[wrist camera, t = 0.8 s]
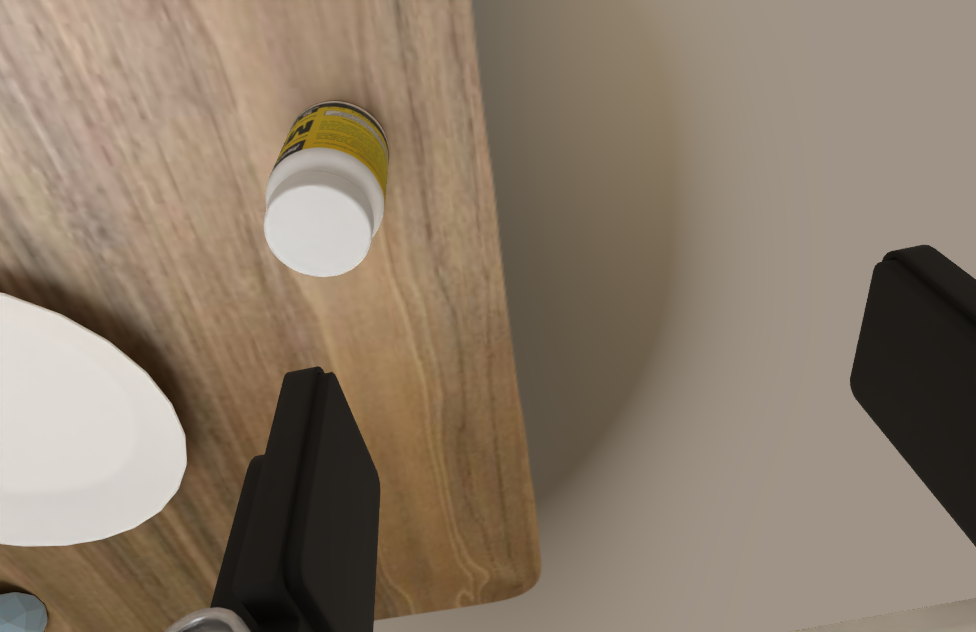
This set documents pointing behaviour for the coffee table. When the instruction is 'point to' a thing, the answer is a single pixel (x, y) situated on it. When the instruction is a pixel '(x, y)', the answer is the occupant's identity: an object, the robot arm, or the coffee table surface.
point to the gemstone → (22, 613)
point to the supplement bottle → (327, 190)
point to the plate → (78, 433)
